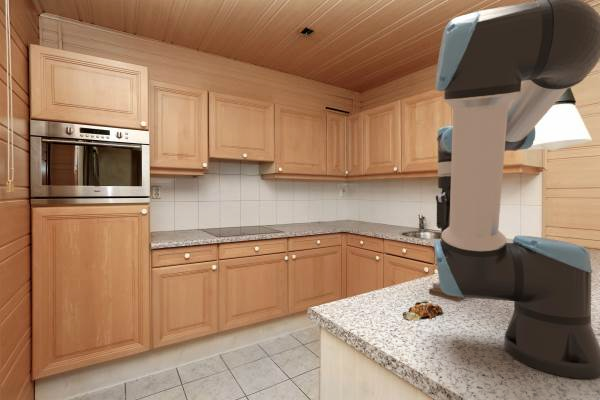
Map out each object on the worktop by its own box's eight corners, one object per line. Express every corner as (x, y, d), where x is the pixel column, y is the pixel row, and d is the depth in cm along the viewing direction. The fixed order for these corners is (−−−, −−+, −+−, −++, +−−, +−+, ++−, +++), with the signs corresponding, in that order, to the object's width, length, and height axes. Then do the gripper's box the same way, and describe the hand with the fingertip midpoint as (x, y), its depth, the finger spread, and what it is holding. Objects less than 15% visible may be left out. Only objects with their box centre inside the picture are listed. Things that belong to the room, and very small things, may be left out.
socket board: (456, 301, 91) (456, 291, 91) (429, 293, 98) (429, 284, 98) (476, 293, 98) (476, 283, 98) (449, 286, 105) (449, 277, 105)
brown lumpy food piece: (397, 317, 81) (397, 304, 81) (421, 307, 88) (421, 295, 88) (421, 326, 76) (421, 312, 76) (445, 314, 83) (445, 301, 83)
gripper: (446, 174, 89) (447, 253, 89) (477, 175, 99) (478, 246, 100) (423, 176, 95) (424, 250, 96) (454, 177, 106) (455, 243, 106)
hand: (451, 248), depth 98 cm, fingers closed on supplement bottle, 5 cm apart
